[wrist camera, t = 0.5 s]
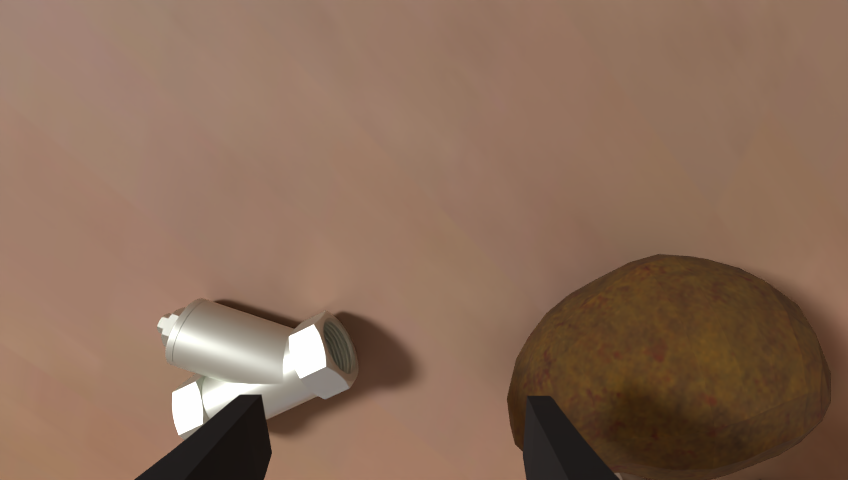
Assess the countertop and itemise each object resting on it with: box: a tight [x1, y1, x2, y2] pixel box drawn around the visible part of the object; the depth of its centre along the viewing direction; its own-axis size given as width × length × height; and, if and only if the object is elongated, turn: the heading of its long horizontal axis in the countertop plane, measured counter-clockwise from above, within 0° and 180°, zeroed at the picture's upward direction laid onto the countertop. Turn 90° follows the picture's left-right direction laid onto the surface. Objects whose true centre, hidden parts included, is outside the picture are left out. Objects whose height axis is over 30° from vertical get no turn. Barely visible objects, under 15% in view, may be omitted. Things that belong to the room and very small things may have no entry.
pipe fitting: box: [157, 298, 358, 440], centre depth 21 cm, size 8×4×7 cm
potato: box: [507, 254, 831, 480], centre depth 18 cm, size 8×12×9 cm
